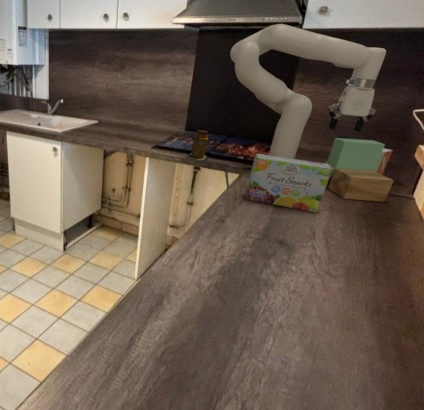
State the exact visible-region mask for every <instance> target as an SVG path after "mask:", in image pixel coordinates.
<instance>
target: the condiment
mask: <svg viewBox="0 0 424 410" xmlns="http://www.w3.org/2000/svg"><path fill="white" fill-rule="evenodd" d="M208 141H209V131H208V130H203V129H197V130H196V131H195V136H193V142H192V147H191V152H190V153H189V155H188V156H187V158H189V159H192V160H198V161H204V160H205V159H206V158H207V155H206V151H207V146H208Z"/></svg>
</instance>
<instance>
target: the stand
mask: <svg viewBox="0 0 424 410" xmlns="http://www.w3.org/2000/svg"><path fill="white" fill-rule="evenodd" d="M394 181H395V180H394V179H392V178H389V177H388V176H385V175H384V174H382V175H381V174H379V173H377V172H375V171H366V170H354V169H341V168H335V171H334V174H333V176H332V177H331V179H330V182H329V185H328V189H329V190H330V191H331V192H333V193H334V194H336V195H337V196H339V197H341V199H344V200H359V201H371V202H372V201H373V202H383V203H385V202H386V199H387V197H388V195H389V192H390V190H391V189H392V185H393V184H394Z"/></svg>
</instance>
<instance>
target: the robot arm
mask: <svg viewBox="0 0 424 410" xmlns="http://www.w3.org/2000/svg"><path fill="white" fill-rule="evenodd" d="M271 50H274V51H277V52H282V53H285V54H289V55H293V56H295V57H299V58H302V59H307V60H314V61H323V62H328V63H332V64H333V65H334V66H335V67H338V68H344V69H353V72H352V74H351V77H350V79H346V84H347V86H345V88H344V90H343V91H342V94H340V97H339V99H338V102H336V103H333V104H329V105H328V106H327V112H328V115H329V117H330V121H329V123H328V129H330V130H333V131H334V130H336V127H337V125H338V122H339V118H340V117H341V116H342V115H343V116H349V117H358V119H357V120H356V122H355V125H354V128H353V131H355V132H358V133H361V132H362V130H363V128H364V125H365V123H366V122H367V121H368V120H369V119H371V118H372V117H373V116H374V115H375V113H376V112H377V109H375V107H373V106H372V105H373V102H374V97H375V88H374V86H375V84H376V80H377V78H378V75H379V74H380V70H381V67H382V65H383V62H384V60H385V57H386V53H387V49H385V48H383V47H373V46H372V47H370V46H369V47H368V46H365V45H363V44H360V43H357V42H353V41H349V40H345V39H341V38H338V37H332V36H329V35H325V34H321V33H316V32H313V31H310V30H305V29H302V28H298V27H297V26H296V27H295V26H291V25H288V24H284V23H277V24H272V25H269V26H267V27H265V28H263V29H261V30H259V31H257V32H255V33H253V34H251V35H249V36H247V37H245V38H243V39H242V40H239V41H238V42H236V43H235V44H234V45H233V46H232V47H231V50H230V54H229V55H230V56H229V57H230V59H231V61H232V62H233V63H234V71H235V72H234V73H235V76H236V78H237V80H238V82H240V84H242V86H244V87H245V88H246V89H248V90H249V91H250V92H252V93H253V94H254V96H255V98H256V99H257V100H259V102H261V103H263V104H264V105H265V106H266V107H269V109H271V110H272V111H274V112H275V113H277V114H279V115H280V118H279V120H278V121H277V125H276V127H275V130H274V134H273V138H272V141H271V145H270V149H269V152H268V155H271V156H277V157H284V158H291V159H296V155H297V151H298V149H299V146H300V142H301V139H302V135H303V132H304V129H305V127H306V125H307V122H308V120H309V118H310V116H311V114H312V112H313V111H312V110H313V104H312V100H311V99H310V98H309V97H308V96H306V95H304V94H300V93H297V92H295V91H293V90H292V89H290V88H288V87H287V85H286V83H285V82H284V81H283V80H281V79H280V78H277V77H276V76H275V75H273V74H271V73H270V72H268V70H266V69H265V68H263V66H261V64H260V61H259V59H260V56H261V55H263V54H265V53H267V52H268V51H269V52H270V51H271ZM334 109H335V111H334Z"/></svg>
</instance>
